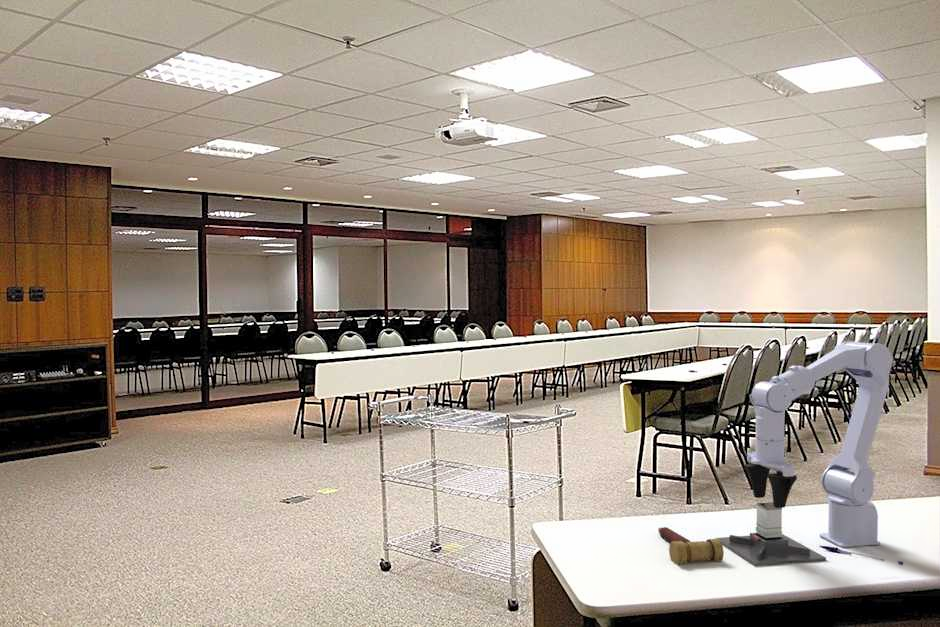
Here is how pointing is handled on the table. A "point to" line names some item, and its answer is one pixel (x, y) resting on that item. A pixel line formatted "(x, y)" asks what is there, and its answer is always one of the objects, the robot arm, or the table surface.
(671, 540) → the gavel
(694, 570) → the table surface
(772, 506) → the grey rectangular block
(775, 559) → the stand base
